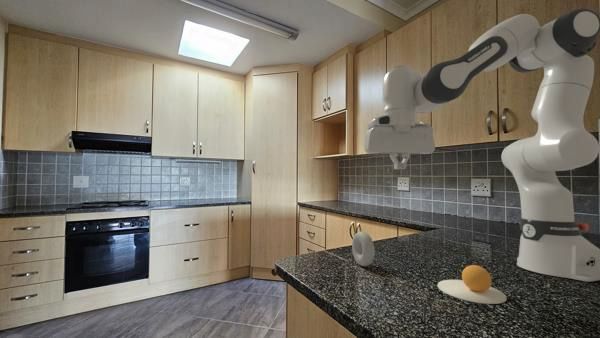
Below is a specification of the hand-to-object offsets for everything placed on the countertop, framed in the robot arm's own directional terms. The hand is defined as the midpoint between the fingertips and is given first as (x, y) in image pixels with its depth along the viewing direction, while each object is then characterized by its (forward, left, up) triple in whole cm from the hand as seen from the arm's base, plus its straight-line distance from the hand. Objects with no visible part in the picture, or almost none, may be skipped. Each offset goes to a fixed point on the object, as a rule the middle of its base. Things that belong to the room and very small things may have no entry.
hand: (400, 169), depth 75 cm
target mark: (-8, +16, -29) cm, 34 cm away
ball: (-10, +16, -26) cm, 32 cm away
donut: (+10, -4, -29) cm, 31 cm away
